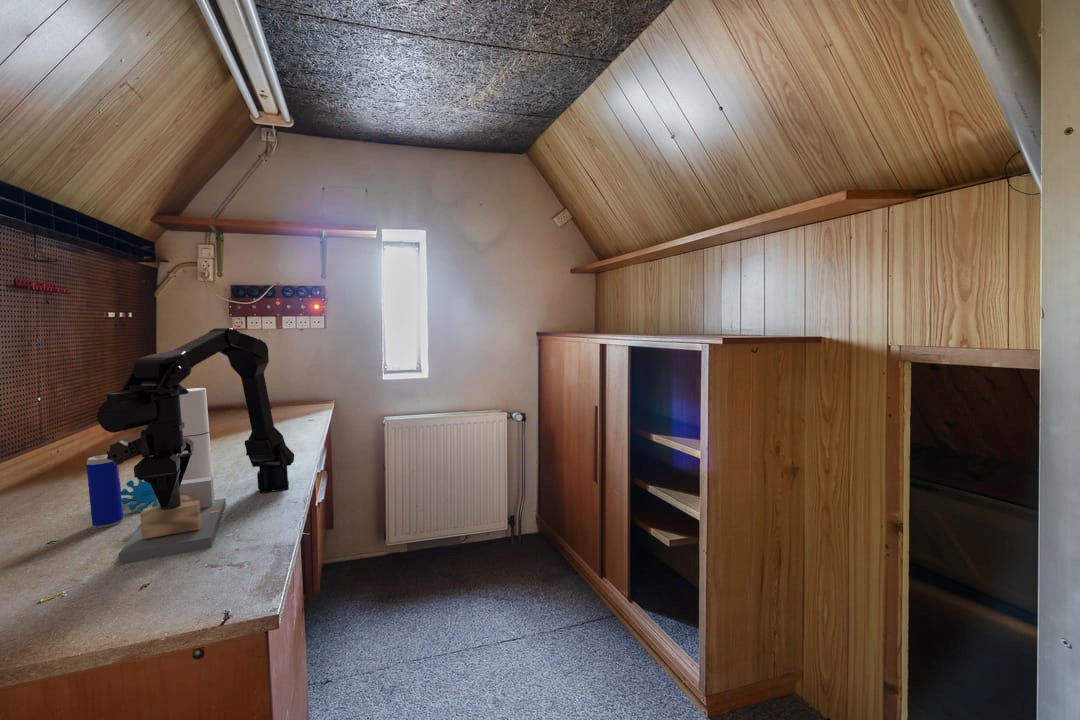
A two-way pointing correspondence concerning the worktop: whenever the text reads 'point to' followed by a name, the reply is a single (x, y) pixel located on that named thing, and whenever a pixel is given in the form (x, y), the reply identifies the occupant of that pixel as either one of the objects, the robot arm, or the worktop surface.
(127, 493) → the blue virus model
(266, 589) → the worktop surface
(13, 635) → the worktop surface
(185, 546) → the cracker base
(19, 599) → the worktop surface
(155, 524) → the lever handle
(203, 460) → the tall white block
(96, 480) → the beverage can
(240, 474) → the worktop surface
